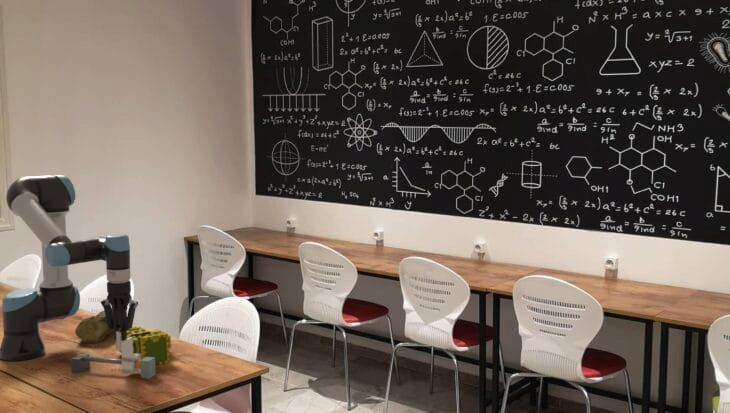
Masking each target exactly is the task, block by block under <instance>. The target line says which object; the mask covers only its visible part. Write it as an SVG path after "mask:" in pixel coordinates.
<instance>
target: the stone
mask: <svg viewBox="0 0 730 413" xmlns="http://www.w3.org/2000/svg"><path fill="white" fill-rule="evenodd" d="M112 312H113V311H112ZM113 331H114V330H113V329H109V327H108V323H107V319H106V315H105V311H104V310H101V311H100V312H98V313H97V314H96V315H93V316H90V317H87V318H84V319H82V321H80V322H79V324H78V325H77V326H76V328H75V331H74V332H75V335H76V336H77V338H79V339H82V341H84V342H85V343H86V344H88V343H89V344H98V343H100V341H103V339H105V338H106V336H107V335H108V334H110V333H112V332H113Z"/></svg>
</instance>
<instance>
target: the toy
mask: <svg viewBox="0 0 730 413" xmlns="http://www.w3.org/2000/svg"><path fill="white" fill-rule="evenodd" d="M129 337H132V338H133V353H137V354H141V360H142V359H144V358H146V357H155V365H162V364H168V363H169V362H170V359H171V358H170V351H169V350H171V349H172V342H171V341H172V340H171V335H169V334H168V333H166V332H165V331H162V330H160V329H159V328H158V329H155V330H152V331H149V330H146V329H145V328H143V327H142V328H141V326H139V327H138V326H132V328H131V329H129V330H127V338H129ZM115 349H116V350H117V341H116V340H115ZM118 352H119V353H121V354H122V351H118Z"/></svg>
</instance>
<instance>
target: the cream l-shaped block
mask: <svg viewBox="0 0 730 413" xmlns="http://www.w3.org/2000/svg"><path fill="white" fill-rule="evenodd" d="M121 351H122V353H121V360H122V365H121V373H123V374H131V375H132V374H135V373H137V372H139V371H141V368H136V367H135V361H136V360H141V354H137V353H133V338H132V337H129V338H127V339H125V340H123V341H121Z"/></svg>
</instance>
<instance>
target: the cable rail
mask: <svg viewBox="0 0 730 413" xmlns="http://www.w3.org/2000/svg"><path fill="white" fill-rule="evenodd" d="M91 362H94V363H101V364H103V363H104V364H113V365H121V366H122V359H117V358H106V357H100V356H90V353H83V352H82V353H80V354H77V355H75V356H73V357H72V358H70V368H71V369H70V371H71V373H81V372H83V371H85V370H86V369H87V370H88V369H89V368H91V366H90V365H91V364H90V363H91ZM135 367H136V368H141V369H140V378H141V379H148V380H149V379H151V378H152V377H154V376H156V364H155V357H146V358H144V359H142V360H136V361H135Z"/></svg>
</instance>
